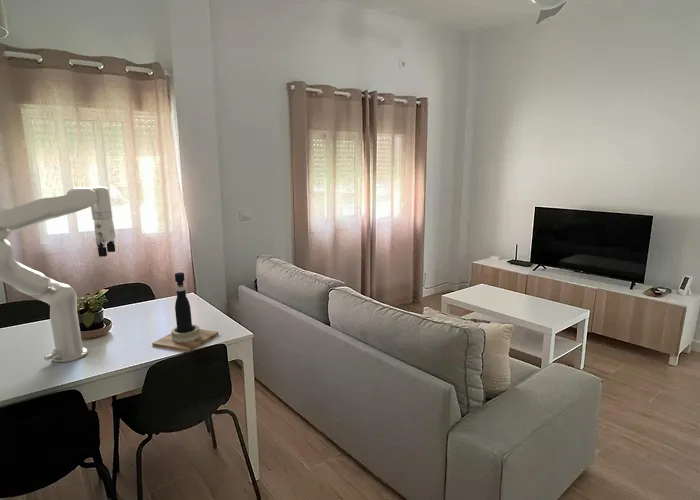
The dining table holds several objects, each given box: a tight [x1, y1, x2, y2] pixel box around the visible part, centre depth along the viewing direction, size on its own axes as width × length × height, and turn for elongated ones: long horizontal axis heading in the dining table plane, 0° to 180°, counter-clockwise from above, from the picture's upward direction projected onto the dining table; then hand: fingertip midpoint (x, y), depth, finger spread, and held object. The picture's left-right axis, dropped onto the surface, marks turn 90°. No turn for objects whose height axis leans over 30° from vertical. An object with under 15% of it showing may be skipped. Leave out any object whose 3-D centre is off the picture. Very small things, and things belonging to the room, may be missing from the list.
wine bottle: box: [174, 272, 193, 333], centre depth 194 cm, size 6×6×30 cm
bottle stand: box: [152, 323, 219, 353], centre depth 197 cm, size 20×20×6 cm
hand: (107, 254), depth 192 cm, fingers open, 9 cm apart
